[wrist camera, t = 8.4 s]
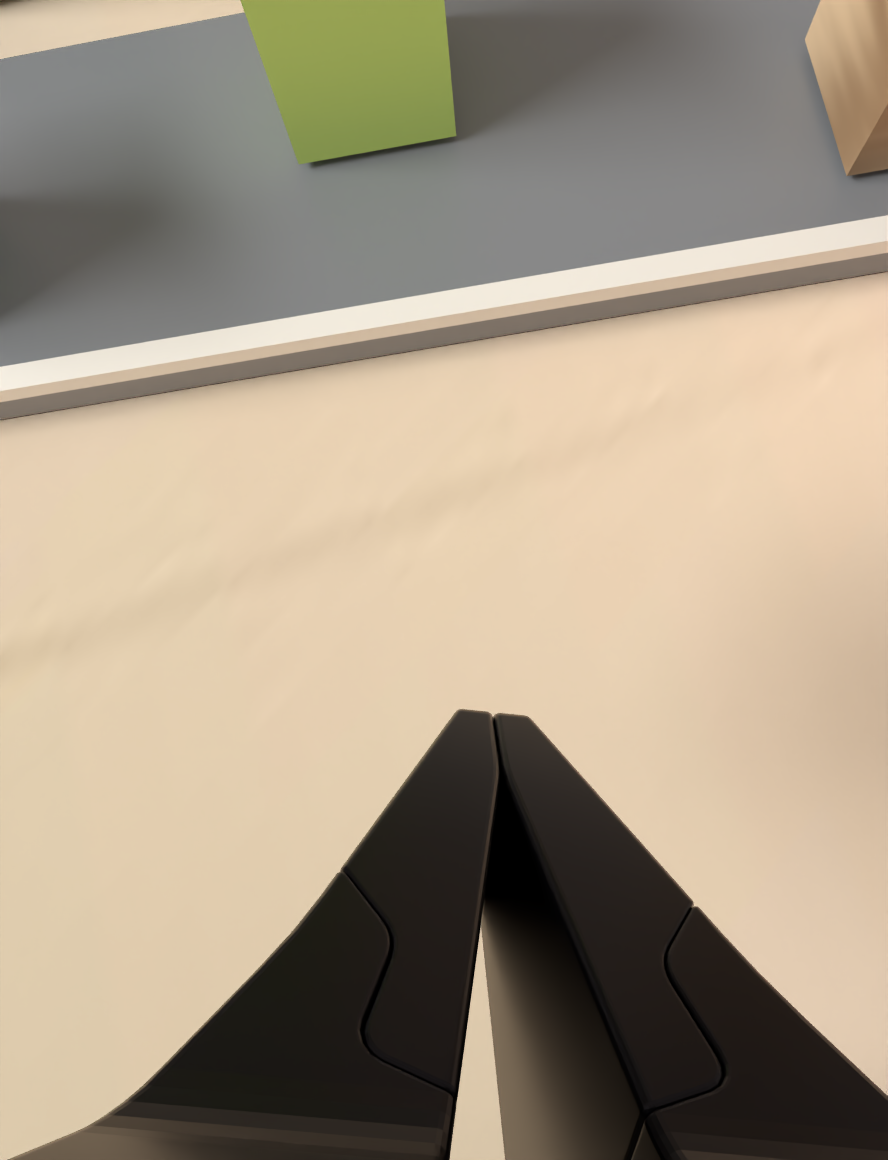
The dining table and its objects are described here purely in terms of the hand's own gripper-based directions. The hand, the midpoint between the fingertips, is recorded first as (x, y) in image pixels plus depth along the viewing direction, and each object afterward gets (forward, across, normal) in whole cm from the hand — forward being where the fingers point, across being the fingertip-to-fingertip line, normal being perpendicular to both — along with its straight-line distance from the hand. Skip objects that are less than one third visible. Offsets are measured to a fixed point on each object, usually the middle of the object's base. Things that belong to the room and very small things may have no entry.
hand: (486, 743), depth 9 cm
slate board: (+21, +4, -7) cm, 23 cm away
